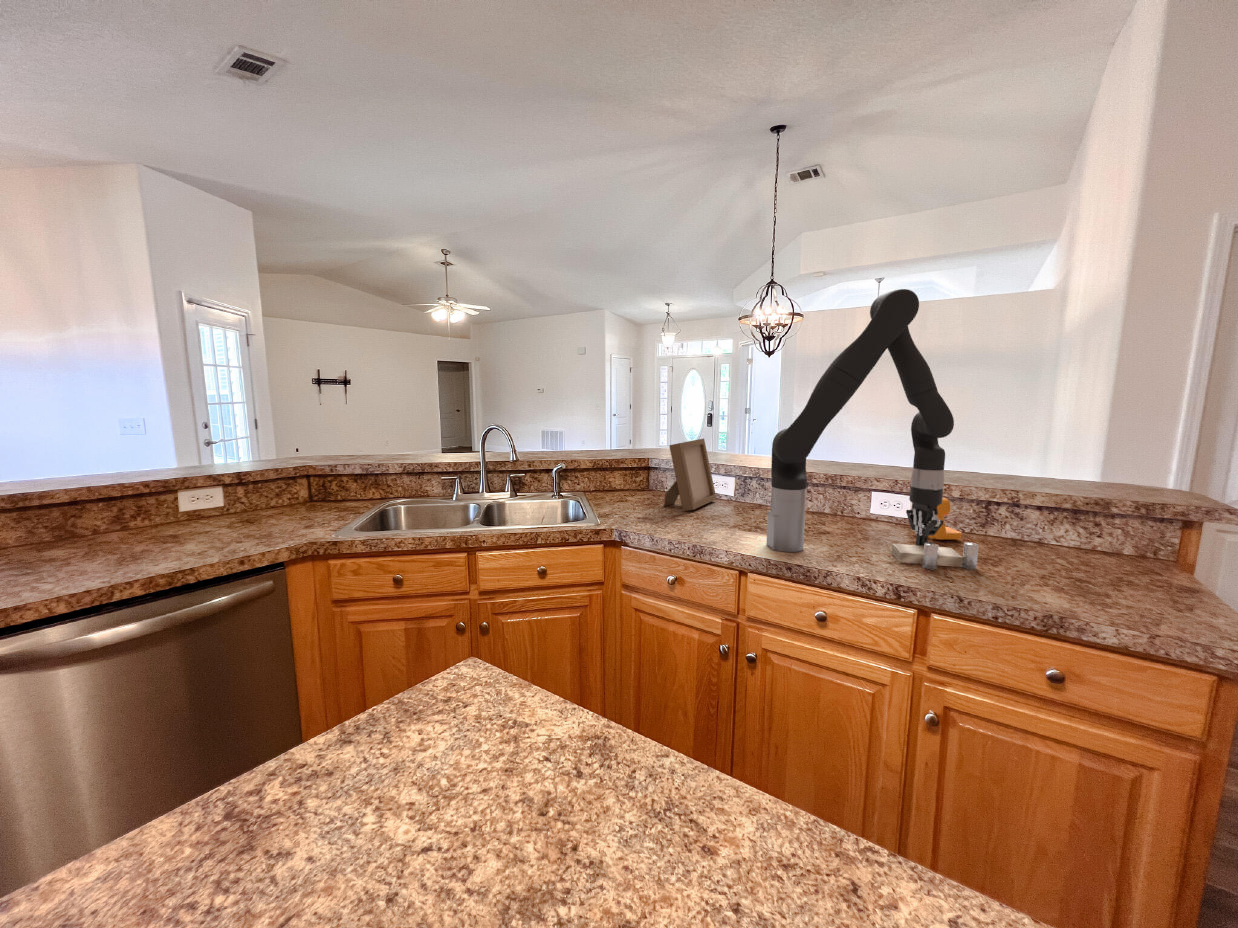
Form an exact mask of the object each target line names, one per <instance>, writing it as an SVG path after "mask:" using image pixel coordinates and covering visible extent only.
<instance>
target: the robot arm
mask: <svg viewBox="0 0 1238 928" xmlns="http://www.w3.org/2000/svg"><path fill="white" fill-rule="evenodd" d="M871 303H872V304H871V305H870V309H869V316H870V319H871V320H870V321H869V322H868V324H867V326H866V327H865V328H864V329H863V331H862V332H861V333H860V335H859V336H857V338H855V340H854V341H853V342H851V343H850V344H849V345H848V346H847V347H846V348H844V350H843V351H841V353H839V354H838V356H836V357H835V359H834V360H833V361H832V362H831V363H830V364H829V366H828V368H826V370H825V371H824V372H823V374H822V375H821V376H820V378H819V380H818V381H817V384H816V385H815V387H814V389H813V390H812V392H811V394H810V396H809V398H808V401H807V403H806V405H805V406H804V408H803V410H801V412H800V414H798V416H797V417H796V418H795V420H794V421H793V422H792V423H791V424H790V425H789V427H788V428H784V429H782V430H780V431H779V432H777V433H776V435H775V436H774V438H773V440H772V444H771V447H772V448H771V467H770V470H771V471H770V472H771V487H770V489H771V490H770V491H771V492H770V493H771V494H770V510H769V511H767V521H766V522H767V524H766V525H767V526H766V527H767V528H766V545H767V546H768V547H769V548H770V549H771V550H772V551H779V552H784V553H785V552H787V553H794V552H795V553H797V552H801V551H803V550H804V545H805V544H804V543H805V527H806V526H805V523H806V508H807V506H806V505H807V487H808V477H807V458H808V457H809V455H810V454H811V452H812V450H813V448H814V446H815V445H816V443H817V442H818V440H819V438H820V437H821V435H822V434H823V432H824V430H825V429H826V428H827V426H828V425H829V424H830V423H831V422H832V420H833V419H835V417H836V416H837V415H838V414H839V413H840V411H842V409H843V407H845V405H846V404H847V403H848V402H849V400H850V399H852V397H853V396H854V394H855V393H856V392H857V390H858V389H859V388H860V387H861V385H862V384H863V382H865V379H867V377H868V376H869V374H870V373H871V372H872V370H873V369H874V367H875V366H876V365H877V364H878V362H879V360H880V359H881V358H882V356H883V355H884V353H885V352H886V350H887V351H888V353H889V354H890V357H891V358H892V361H893V363H894V366H895V368H896V370H897V373H898V377H899V380H900V383H901V384H902V389H903V391H904V394H905V396H906V399H907V401H908V403H909V404H910V405H911V406H913V407H915V408H916V409H917V410H918V412H917V413H916V414H915V415H914V416H913V419H912V421H911V425H910V432H911V439H912V446H913V447H912V448H913V450H914V455H913V464H912V465H913V466H912V472H911V477H910V485H909V497H908V498H909V499H908V500H909V502H910V503H912V506H911V509H906V511H905V513H906V516H907V519H908V522H909V525H910V528H911V530H913V531H914V533H915V534H916V537H915V545H919V546H924V544H925V543H929V542H928V541H929V538H928V536H930V535H935V534H936V532H937V531H938V530H939V528H940V527H941V526H942V525H943V523H944V522H943V520H939V518H938V517H937V515H938V510H937V506H938V505H940V504H942V498H944V495H943V494H944V484H945V461H946V451H945V449H944V448H942V447H941V446H940V445H939V439H942V438H947V437H948V436H949V435H951V433H952V432H953V430H954V426H955V420H954V416H953V412H952V411H951V409H950V408H949V406H948V404H947V403H946V401H945V400H944V398H943V396H941V394H940V393H939V390H938V387H937V385H936V384H937V383H936V381H935V378H934V375H933V372H932V369H931V368H930V365H929V364H928V362H927V361H926V359H925V358H924V356H923V355H922V354H921V353H922V352H920V350H919V349H918V347H917V346H916V344H915V342H914V340H913V338H912V335H911V333H910V329H909V325H910V324H911V323H912V322H913V320H914V319H915V318H916V316H917V315H918V312H919V309H920V300H919V297H918V295H917V294H916V293H915V292H914V291H912V290H911V289H908V288H897V289H894V290H890V291H888V292H885V293H882V294H881V295H879V296H877V297H876V298H875V299H874V301H873V302H871Z"/></svg>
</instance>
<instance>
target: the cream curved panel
mask: <svg viewBox="0 0 1238 928" xmlns="http://www.w3.org/2000/svg"><path fill="white" fill-rule="evenodd" d="M891 547H892V548H891V554H894V555H895V556H894V555H893V556H894V557H895V558H896V559H897V561H898V562H899V563H907V564H918V563H920V565H923V555H924V546H919V545H916V544H905V543H904V544H902V543H892V545H891ZM962 560H963V555H960V553H958V552H957V551H956V550H954V549H953V548H952V547H944V546H939V548H938V559H937V566H944V567H945V566H946V567H955V568H956V567H957V568H963V567H962Z"/></svg>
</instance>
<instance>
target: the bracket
mask: <svg viewBox="0 0 1238 928" xmlns="http://www.w3.org/2000/svg"><path fill="white" fill-rule="evenodd" d="M951 507H952V506H951V503H950V501H949V499H948V498H945V497H943V498H942V504H940V505H938V506H937V510H938V515H937V517H938V518H939V520H943V522H944V523H943V525H942V526H941V527H940V528H939V530H938V531H937V532H936V534H935V535H930V536H928V537H929V538H928V539H930V538H932V539H931V540H961V539H962V532H961V531H959V530H956V529H954V528H951V527H948V526H946V524H945V516H949V514H950V512H951V509H952V508H951Z"/></svg>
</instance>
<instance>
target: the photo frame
mask: <svg viewBox="0 0 1238 928" xmlns="http://www.w3.org/2000/svg"><path fill="white" fill-rule="evenodd" d="M668 446H669V451H670V455H671V461H672V465H673V470H674V475H675V479H676V480H675V481H674V482H673V483H672V485H671V486H670V487H669V488H668V490H667V491H666V492H665V494H664V501H663V504H664V505H663V506H668V505H669V506H670V505H675V503H676V501H677V499H678V498H679V499H680V504H681V509H682V511H683V512H685V511H693V510H696V509H698V508H701V507H703V506H704V505H706V504H709V503H711V502H713V501H715V500H717V494H716V490H715V484H714V481H713V475H712V471H711V465H710V462H709V456H708V450H707V445H706V441H705V438H699V439H694V440H688V441H682V442H679V443H674V444H669V445H668Z"/></svg>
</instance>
